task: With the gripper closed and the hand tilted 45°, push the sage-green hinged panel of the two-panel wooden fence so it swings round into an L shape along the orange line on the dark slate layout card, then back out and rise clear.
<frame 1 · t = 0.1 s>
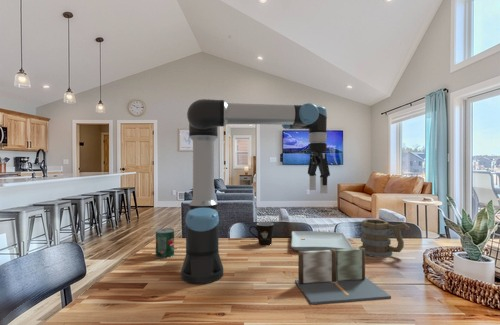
hand: (317, 191, 119), 28 cm above the table, tool pointing down, fingers open, 13 cm apart
canned tomato: (165, 255, 121), on the table
square plate: (319, 246, 135), on the table
coffee mug: (262, 243, 138), on the table
folding panel: (350, 264, 94), point 6 cm above the table, hinge at 0.0°
layout card: (339, 289, 88), on the table
tankard: (383, 254, 121), on the table
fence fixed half: (333, 282, 93), resting on layout card
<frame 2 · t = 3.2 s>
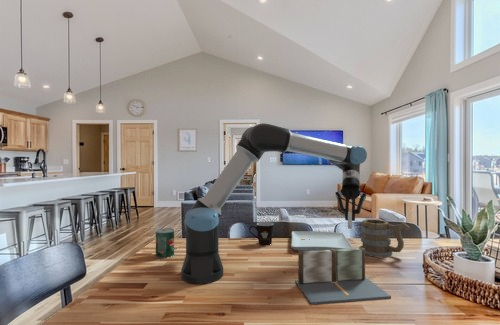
hand: (349, 226, 110), 15 cm above the table, tool tilted 45°, fingers closed
nothing on the table moved.
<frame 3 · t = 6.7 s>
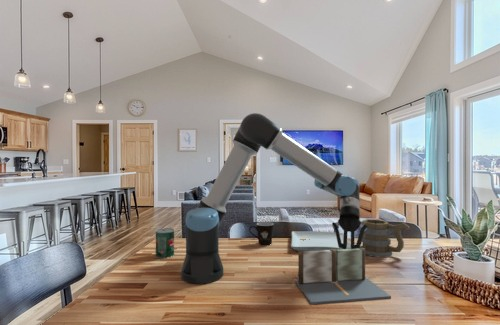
hand: (348, 266, 96), 4 cm above the table, tool tilted 45°, fingers closed
folding panel: (350, 264, 94), point 6 cm above the table, hinge at -0.3°, touching gripper
everything else where it was.
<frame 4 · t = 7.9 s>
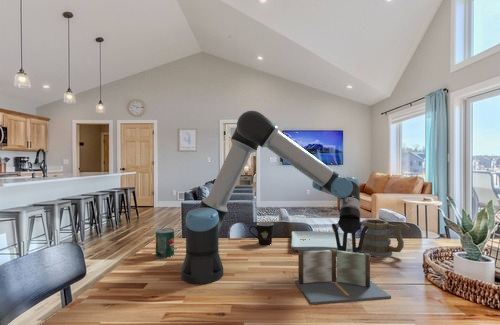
hand: (349, 269, 92), 5 cm above the table, tool tilted 45°, fingers closed, pressing on folding panel
folding panel: (353, 268, 90), point 6 cm above the table, hinge at -31.7°, touching gripper
everything else where it was.
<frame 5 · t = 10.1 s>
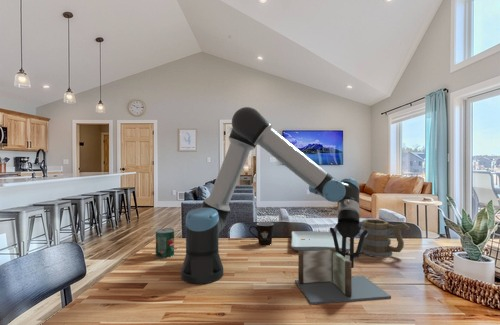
hand: (347, 276, 87), 4 cm above the table, tool tilted 45°, fingers closed
folding panel: (341, 272, 86), point 6 cm above the table, hinge at -90.5°, touching gripper
everything else where it was.
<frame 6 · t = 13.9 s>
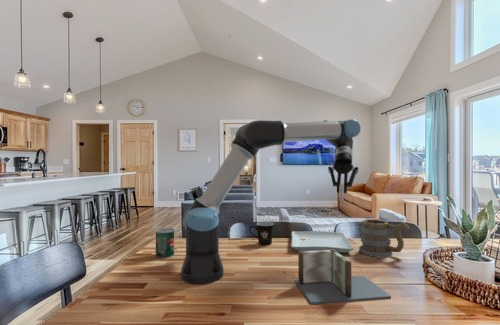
hand: (341, 198, 112), 26 cm above the table, tool tilted 45°, fingers closed
folding panel: (341, 272, 86), point 6 cm above the table, hinge at -90.6°
everything else where it was.
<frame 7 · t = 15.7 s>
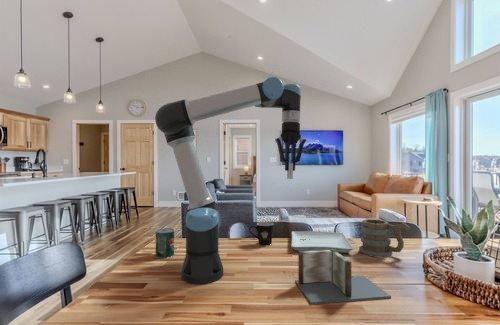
hand: (289, 178, 114), 34 cm above the table, tool pointing down, fingers closed
nothing on the table moved.
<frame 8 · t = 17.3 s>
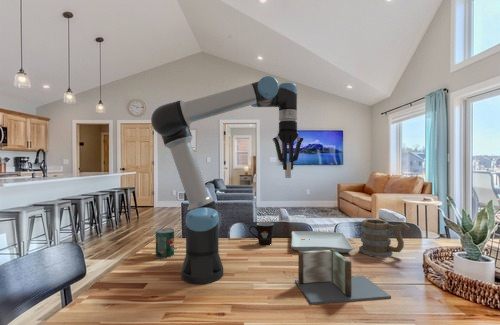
hand: (288, 177, 114), 34 cm above the table, tool pointing down, fingers closed
nothing on the table moved.
at the end: folding panel at -91° (first picture: +0°) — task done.
